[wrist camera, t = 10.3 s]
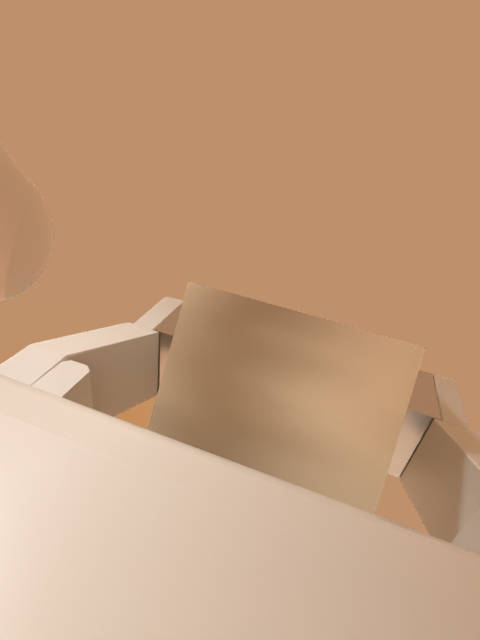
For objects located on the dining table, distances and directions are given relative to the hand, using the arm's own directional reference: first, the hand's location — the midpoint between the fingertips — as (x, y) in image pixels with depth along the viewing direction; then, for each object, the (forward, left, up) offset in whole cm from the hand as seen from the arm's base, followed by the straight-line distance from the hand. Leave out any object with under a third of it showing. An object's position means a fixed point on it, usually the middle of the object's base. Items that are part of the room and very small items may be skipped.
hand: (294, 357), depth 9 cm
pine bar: (0, +9, -2) cm, 9 cm away
